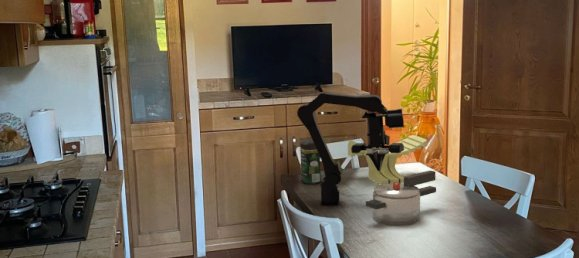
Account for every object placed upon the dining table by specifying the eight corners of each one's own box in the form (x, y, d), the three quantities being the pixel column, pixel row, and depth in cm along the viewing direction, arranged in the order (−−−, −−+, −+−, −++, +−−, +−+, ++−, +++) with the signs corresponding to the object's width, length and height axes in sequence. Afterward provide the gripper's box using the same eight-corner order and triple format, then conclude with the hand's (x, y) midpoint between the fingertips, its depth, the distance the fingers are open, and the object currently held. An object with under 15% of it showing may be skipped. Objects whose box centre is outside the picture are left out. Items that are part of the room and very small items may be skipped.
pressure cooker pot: (388, 231, 191) (388, 205, 190) (354, 219, 204) (354, 194, 202) (450, 212, 209) (451, 188, 208) (416, 202, 222) (416, 179, 220)
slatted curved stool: (410, 172, 269) (410, 133, 266) (426, 180, 254) (427, 139, 251) (348, 177, 261) (347, 138, 258) (361, 186, 246) (361, 144, 243)
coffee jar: (298, 179, 260) (297, 138, 257) (315, 178, 262) (314, 137, 259) (305, 185, 251) (304, 142, 248) (323, 183, 253) (322, 140, 250)
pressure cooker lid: (397, 201, 192) (397, 188, 192) (364, 191, 204) (364, 179, 204) (449, 186, 208) (450, 174, 207) (416, 178, 220) (416, 167, 219)
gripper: (407, 125, 219) (410, 166, 221) (360, 126, 228) (363, 165, 230) (397, 130, 210) (400, 173, 212) (349, 131, 219) (352, 172, 221)
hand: (379, 170), depth 219 cm, fingers closed
